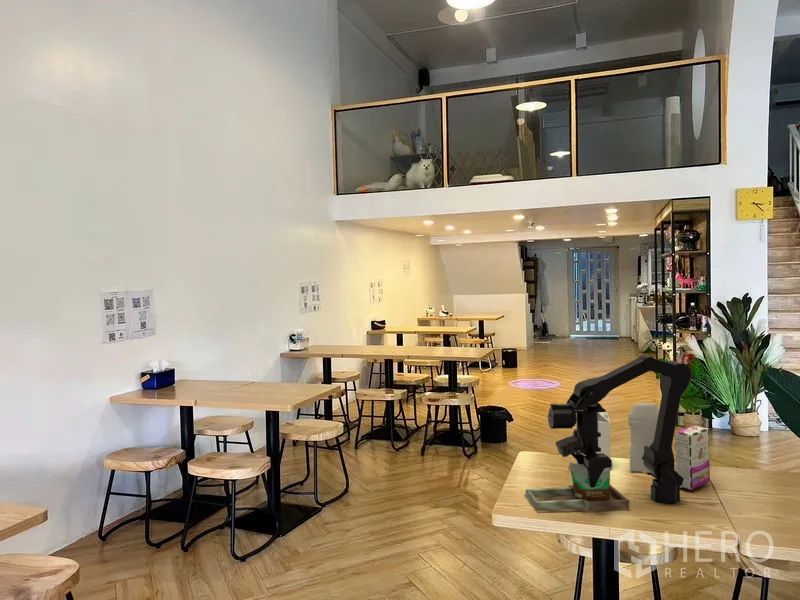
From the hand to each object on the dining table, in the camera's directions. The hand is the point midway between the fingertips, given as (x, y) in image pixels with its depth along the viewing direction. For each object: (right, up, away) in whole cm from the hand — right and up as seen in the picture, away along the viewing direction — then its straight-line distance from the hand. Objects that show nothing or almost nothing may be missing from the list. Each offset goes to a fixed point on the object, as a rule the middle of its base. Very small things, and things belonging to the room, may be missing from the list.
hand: (587, 483), depth 160 cm
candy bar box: (+35, -4, +12) cm, 38 cm away
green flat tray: (-4, -5, 0) cm, 6 cm away
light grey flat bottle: (+27, -4, +25) cm, 36 cm away
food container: (+2, -5, -1) cm, 5 cm away
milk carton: (+14, -4, +32) cm, 36 cm away
